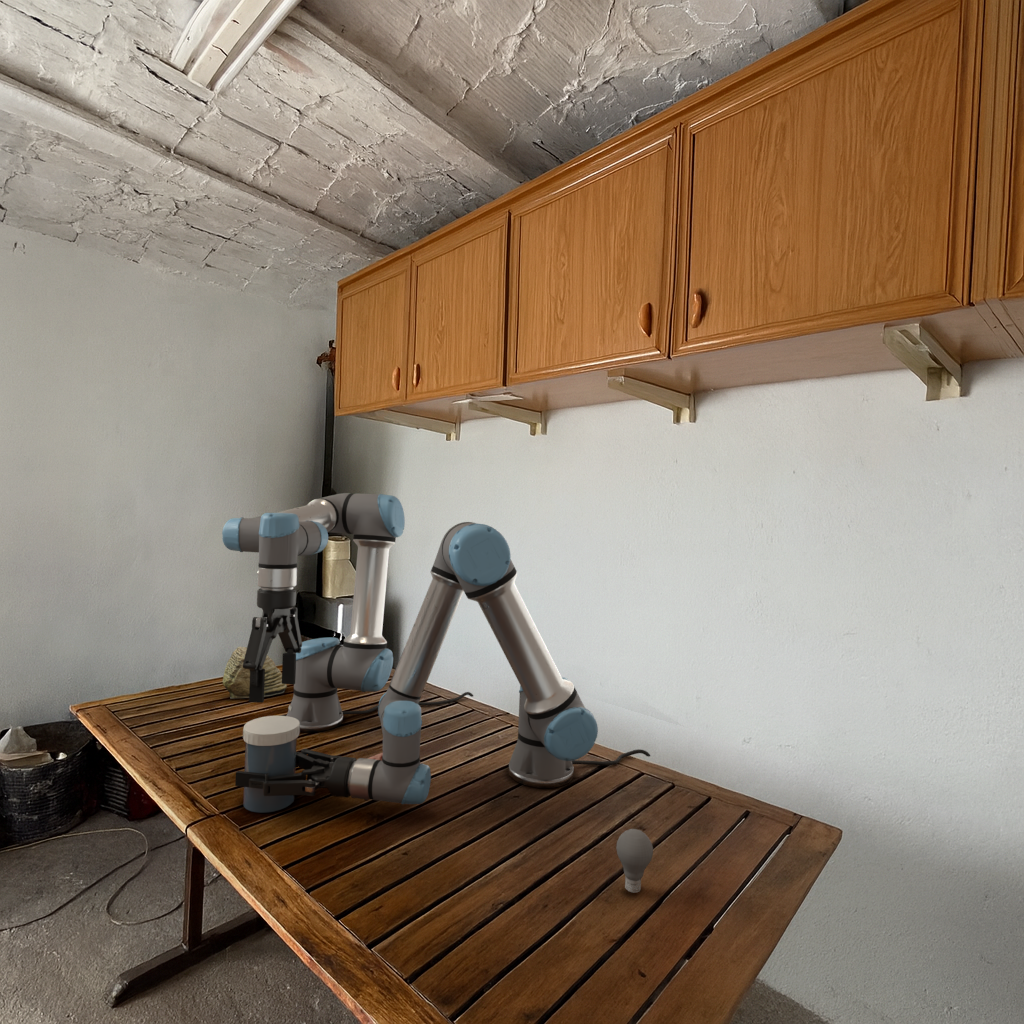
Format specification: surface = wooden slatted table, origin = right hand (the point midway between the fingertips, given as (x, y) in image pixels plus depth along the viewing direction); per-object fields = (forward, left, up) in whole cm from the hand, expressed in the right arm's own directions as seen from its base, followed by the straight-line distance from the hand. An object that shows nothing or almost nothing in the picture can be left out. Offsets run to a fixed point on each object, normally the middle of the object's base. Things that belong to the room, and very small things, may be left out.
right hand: (250, 767), depth 131 cm
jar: (-4, +2, -7) cm, 8 cm away
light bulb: (-63, +48, -7) cm, 79 cm away
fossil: (+4, -71, -7) cm, 72 cm away
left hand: (-4, +2, +16) cm, 17 cm away
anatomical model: (-26, -8, -7) cm, 28 cm away
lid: (-4, +2, +9) cm, 10 cm away
